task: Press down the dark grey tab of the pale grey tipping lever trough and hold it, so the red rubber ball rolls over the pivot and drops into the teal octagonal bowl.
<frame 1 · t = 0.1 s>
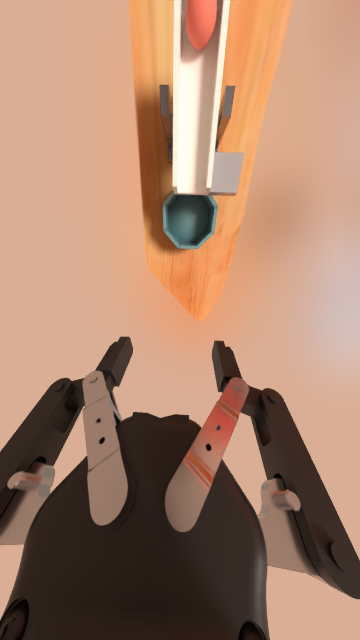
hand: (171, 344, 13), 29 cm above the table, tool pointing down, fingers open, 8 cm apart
lever stand: (193, 142, 24), on the table
ball: (201, 15, 13), point 10 cm above the table, touching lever
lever: (210, 120, 18), point 8 cm above the table, hinge at -10.0°, touching ball
teal octagonal bowl: (189, 219, 31), on the table
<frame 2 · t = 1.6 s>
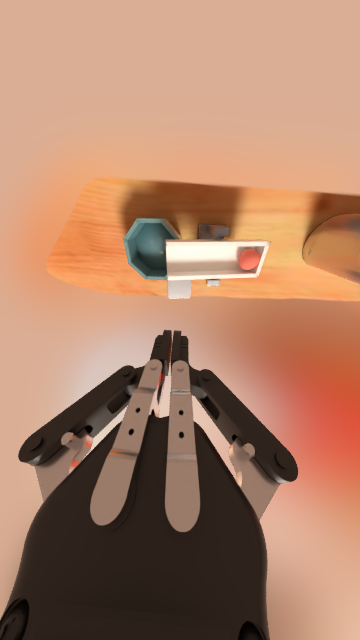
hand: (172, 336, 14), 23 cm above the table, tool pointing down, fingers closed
lever stand: (208, 248, 30), on the table
ball: (248, 259, 22), point 10 cm above the table, touching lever
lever: (209, 269, 24), point 8 cm above the table, hinge at -10.0°, touching ball
teal octagonal bowl: (158, 247, 30), on the table
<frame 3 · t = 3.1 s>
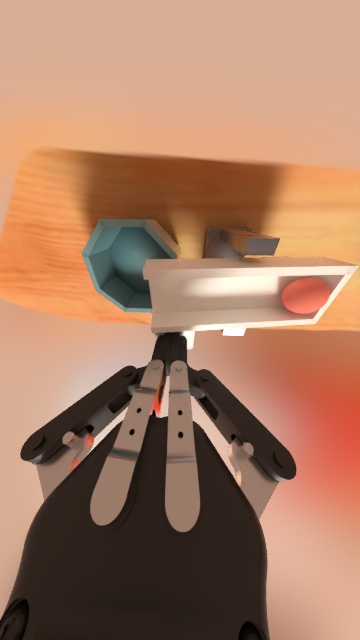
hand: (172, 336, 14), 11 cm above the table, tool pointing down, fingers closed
lever stand: (221, 264, 20), on the table
ball: (303, 295, 12), point 10 cm above the table, touching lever
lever: (227, 305, 14), point 8 cm above the table, hinge at -8.4°, touching ball, gripper
teal octagonal bowl: (145, 262, 20), on the table
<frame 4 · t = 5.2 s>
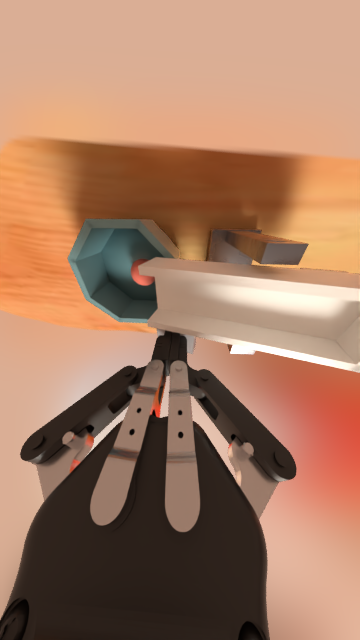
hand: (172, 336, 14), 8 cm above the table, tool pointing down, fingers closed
lever stand: (225, 268, 18), on the table
ball: (144, 272, 16), point 2 cm above the table, tilted 51°, touching teal octagonal bowl
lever: (237, 318, 12), point 8 cm above the table, hinge at 14.5°, touching gripper
teal octagonal bowl: (141, 266, 18), on the table
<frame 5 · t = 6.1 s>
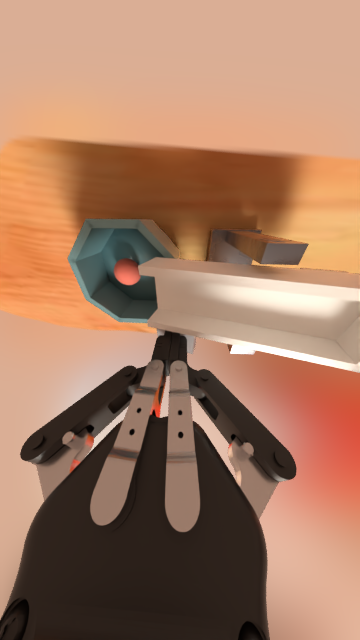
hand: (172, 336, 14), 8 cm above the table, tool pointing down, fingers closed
lever stand: (225, 268, 18), on the table
ball: (127, 272, 16), point 2 cm above the table, tilted 126°, touching teal octagonal bowl
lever: (237, 318, 12), point 8 cm above the table, hinge at 14.5°, touching gripper
teal octagonal bowl: (141, 266, 18), on the table
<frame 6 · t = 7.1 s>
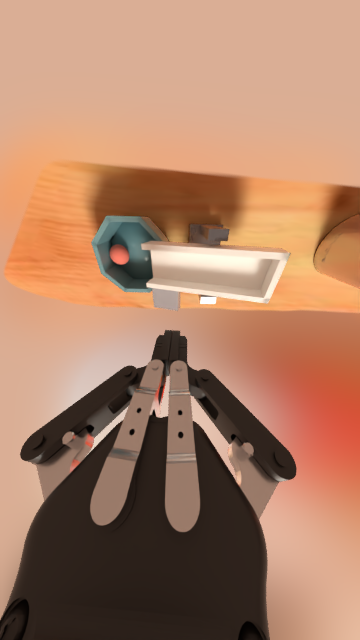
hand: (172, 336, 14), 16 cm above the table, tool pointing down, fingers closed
lever stand: (202, 253, 24), on the table
ball: (119, 254, 23), point 2 cm above the table, tilted 163°, touching teal octagonal bowl
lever: (205, 281, 19), point 8 cm above the table, hinge at 14.5°
teal octagonal bowl: (140, 252, 24), on the table
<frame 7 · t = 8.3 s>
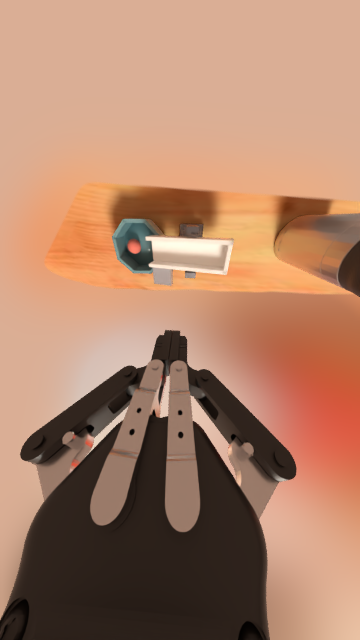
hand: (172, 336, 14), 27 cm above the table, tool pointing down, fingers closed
lever stand: (190, 245, 33), on the table
ball: (134, 246, 31), point 2 cm above the table, tilted 159°, touching teal octagonal bowl
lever: (189, 263, 28), point 8 cm above the table, hinge at 14.5°
teal octagonal bowl: (145, 244, 33), on the table
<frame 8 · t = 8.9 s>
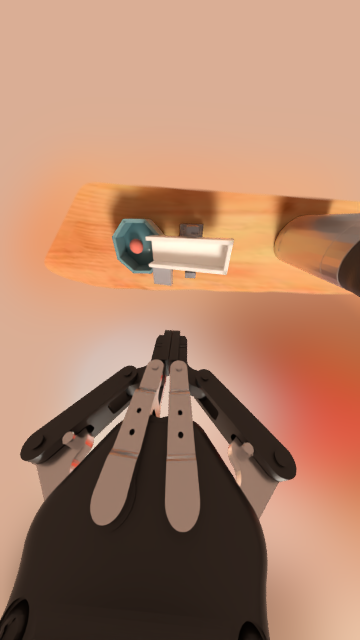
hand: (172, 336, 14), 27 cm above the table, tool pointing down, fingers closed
lever stand: (190, 245, 33), on the table
ball: (136, 246, 31), point 2 cm above the table, tilted 140°, touching teal octagonal bowl
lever: (189, 263, 28), point 8 cm above the table, hinge at 14.5°
teal octagonal bowl: (145, 244, 33), on the table
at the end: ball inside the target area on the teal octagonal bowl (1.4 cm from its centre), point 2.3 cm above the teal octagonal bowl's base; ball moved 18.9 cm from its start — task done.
